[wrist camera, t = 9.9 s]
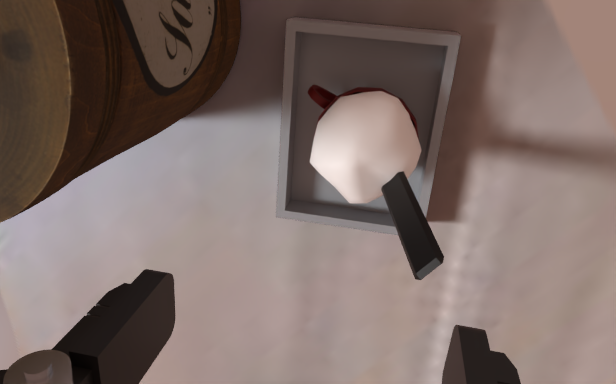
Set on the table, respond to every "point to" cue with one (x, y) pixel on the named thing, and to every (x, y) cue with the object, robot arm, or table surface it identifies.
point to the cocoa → (375, 161)
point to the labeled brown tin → (100, 82)
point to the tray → (344, 77)
